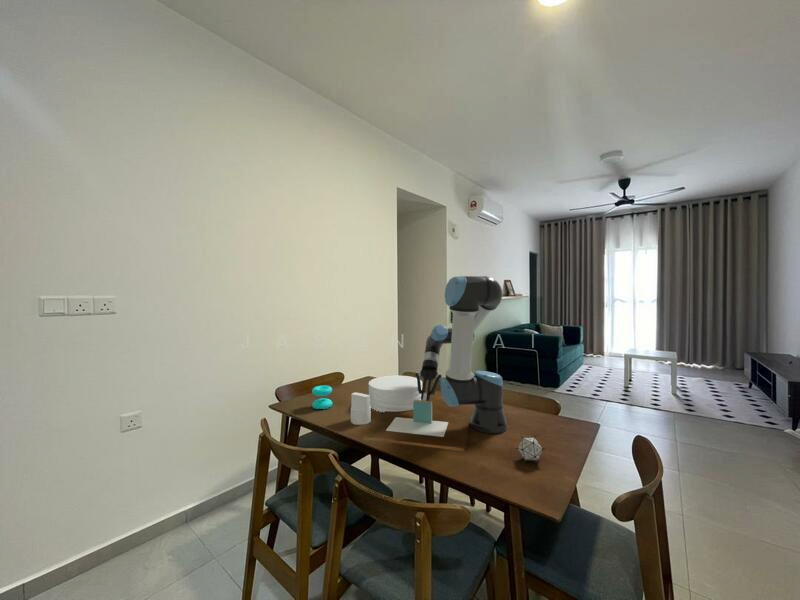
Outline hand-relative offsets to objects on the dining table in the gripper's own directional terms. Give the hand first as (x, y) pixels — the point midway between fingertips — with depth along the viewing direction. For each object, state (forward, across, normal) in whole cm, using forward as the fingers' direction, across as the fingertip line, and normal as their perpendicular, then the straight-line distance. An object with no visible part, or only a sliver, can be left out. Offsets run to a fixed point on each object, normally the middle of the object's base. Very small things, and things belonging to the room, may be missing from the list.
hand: (423, 407), depth 149 cm
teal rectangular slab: (+6, 0, -1) cm, 6 cm away
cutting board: (+11, +1, +2) cm, 11 cm away
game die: (+22, -42, +13) cm, 49 cm away
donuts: (+1, +54, -8) cm, 54 cm away
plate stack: (-9, +19, -18) cm, 28 cm away
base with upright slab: (+9, +28, 0) cm, 29 cm away
